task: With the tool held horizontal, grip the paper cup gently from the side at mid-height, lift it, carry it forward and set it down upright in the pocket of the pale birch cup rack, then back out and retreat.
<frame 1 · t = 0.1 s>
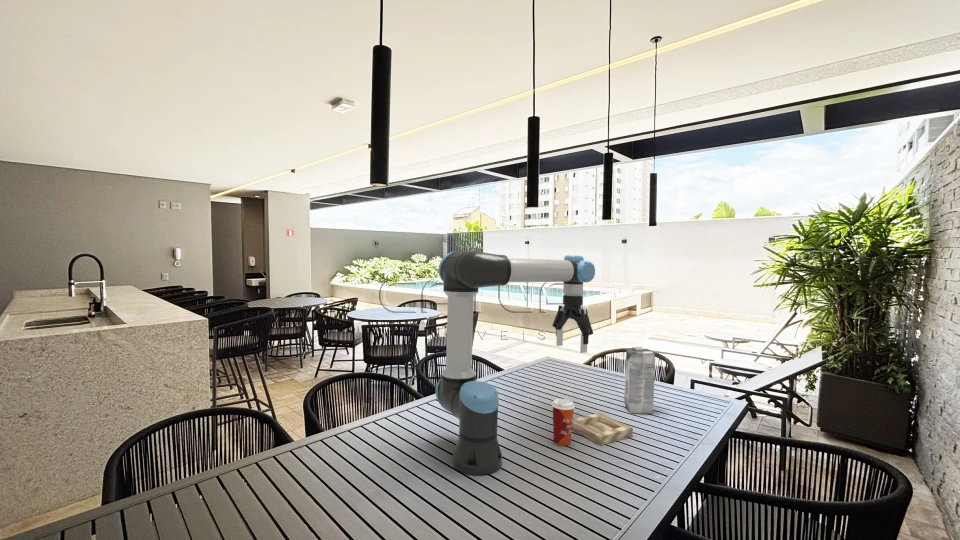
hand: (571, 349, 160), 28 cm above the table, tool pointing down, fingers open, 13 cm apart
juice carton: (638, 411, 172), on the table
paper cup: (562, 442, 141), on the table
cup rack: (599, 432, 150), on the table
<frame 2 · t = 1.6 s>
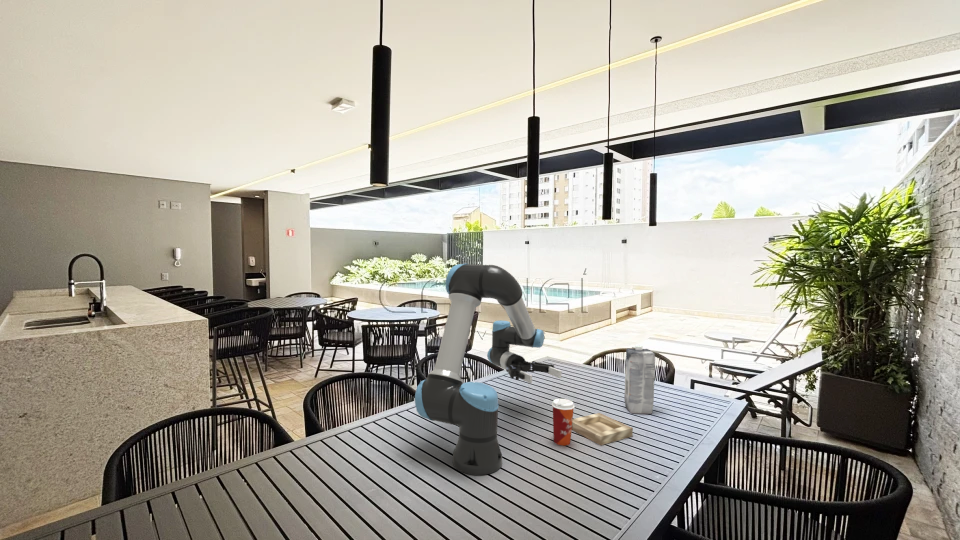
hand: (546, 376, 149), 20 cm above the table, tool horizontal, fingers open, 13 cm apart
nothing on the table moved.
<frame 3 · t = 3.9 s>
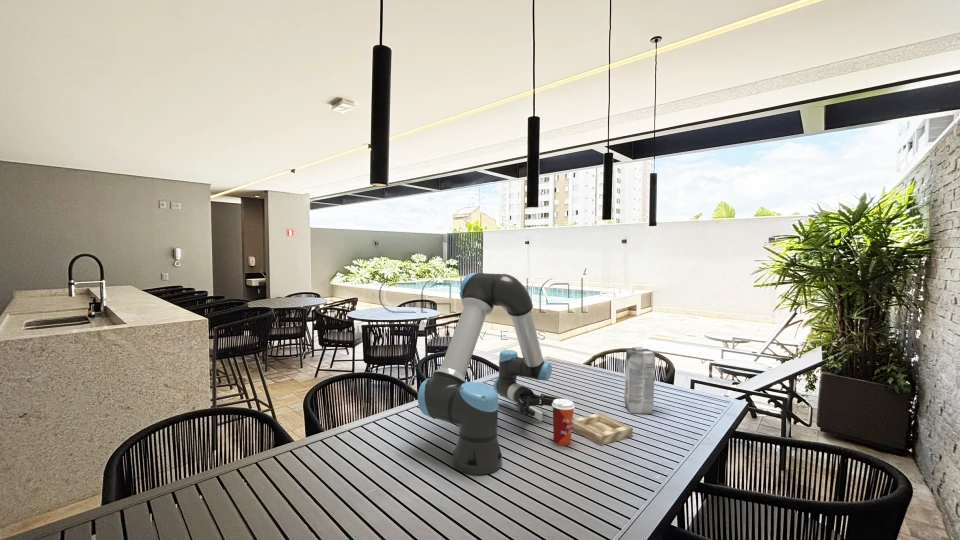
hand: (556, 413, 145), 8 cm above the table, tool horizontal, fingers open, 13 cm apart
nothing on the table moved.
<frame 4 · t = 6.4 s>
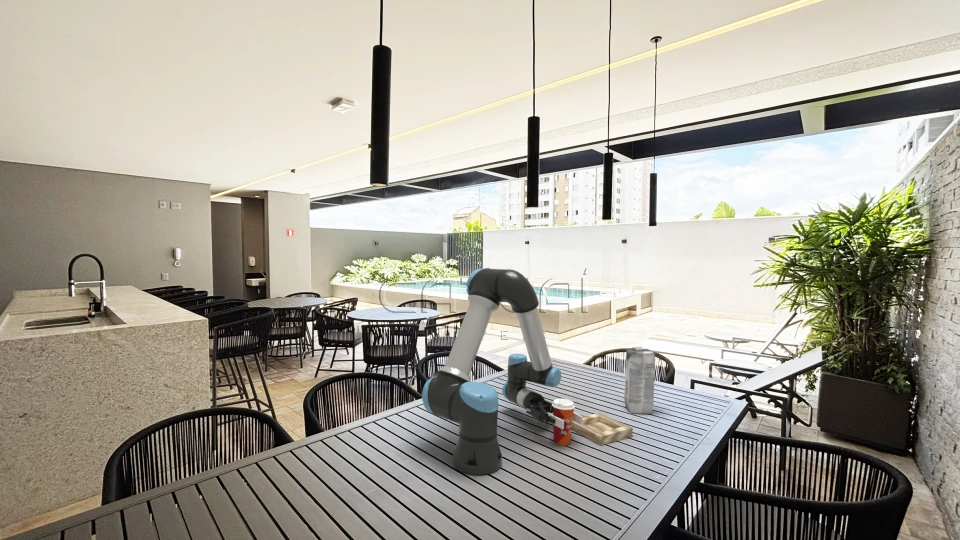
hand: (572, 422, 137), 9 cm above the table, tool horizontal, fingers closed on paper cup, 8 cm apart
paper cup: (562, 442, 141), on the table, touching gripper
everything else where it was.
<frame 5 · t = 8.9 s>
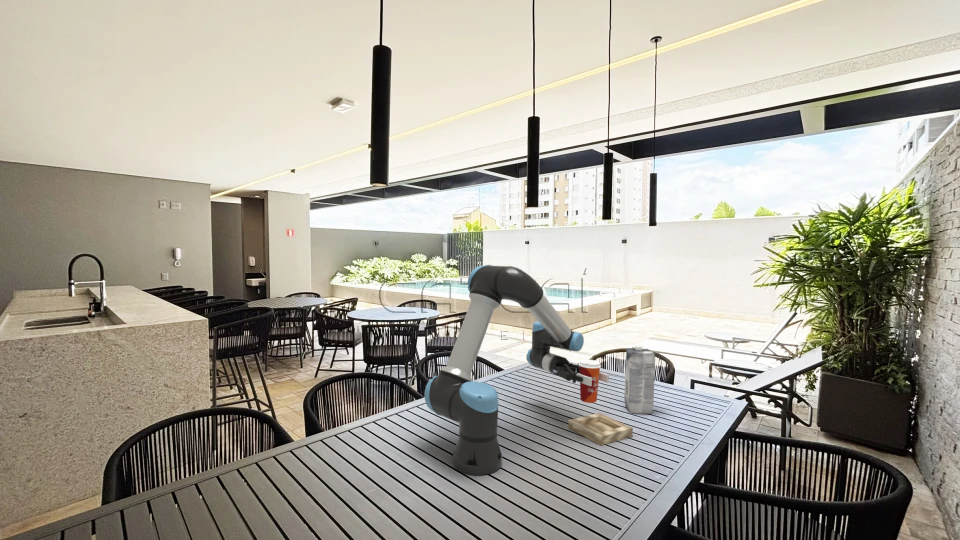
hand: (599, 380, 143), 21 cm above the table, tool horizontal, fingers closed on paper cup, 8 cm apart
paper cup: (588, 400, 148), point 12 cm above the table, touching gripper
everything else where it was.
when the fingers open (10 cm above the table, at t = 11.9 s): paper cup drops 1 cm, resting on cup rack.
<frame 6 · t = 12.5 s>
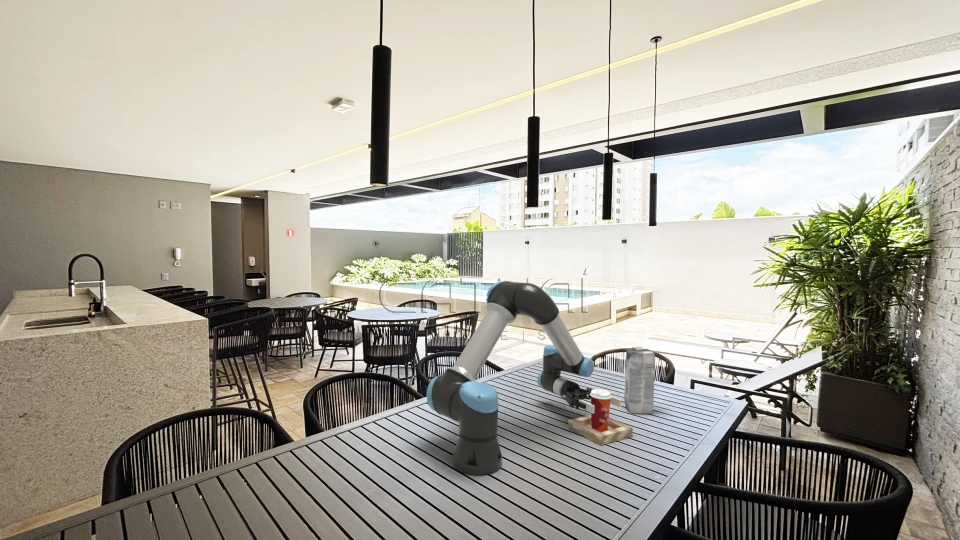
hand: (607, 406, 147), 10 cm above the table, tool horizontal, fingers open, 13 cm apart
paper cup: (599, 430, 150), point 1 cm above the table, touching cup rack
everything else where it was.
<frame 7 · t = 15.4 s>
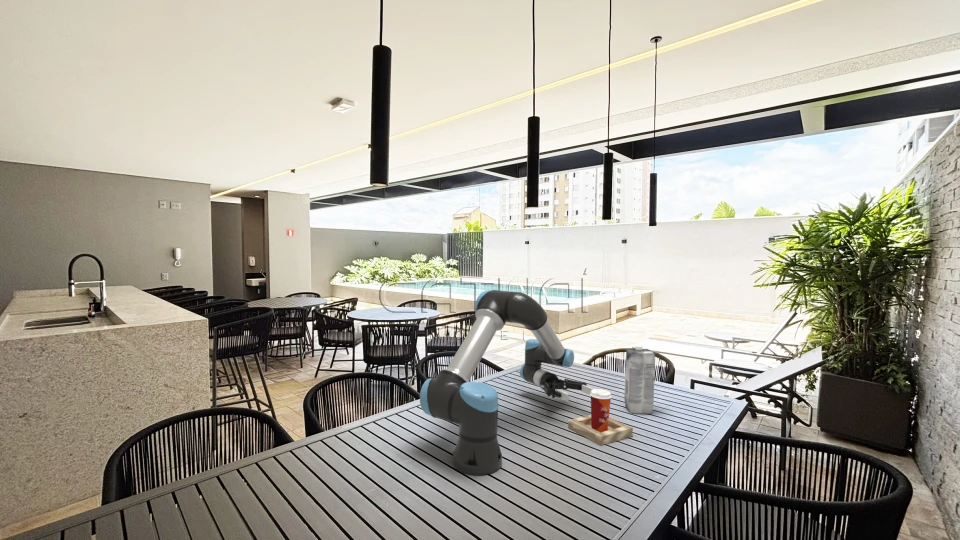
hand: (581, 395, 158), 11 cm above the table, tool horizontal, fingers open, 13 cm apart
nothing on the table moved.
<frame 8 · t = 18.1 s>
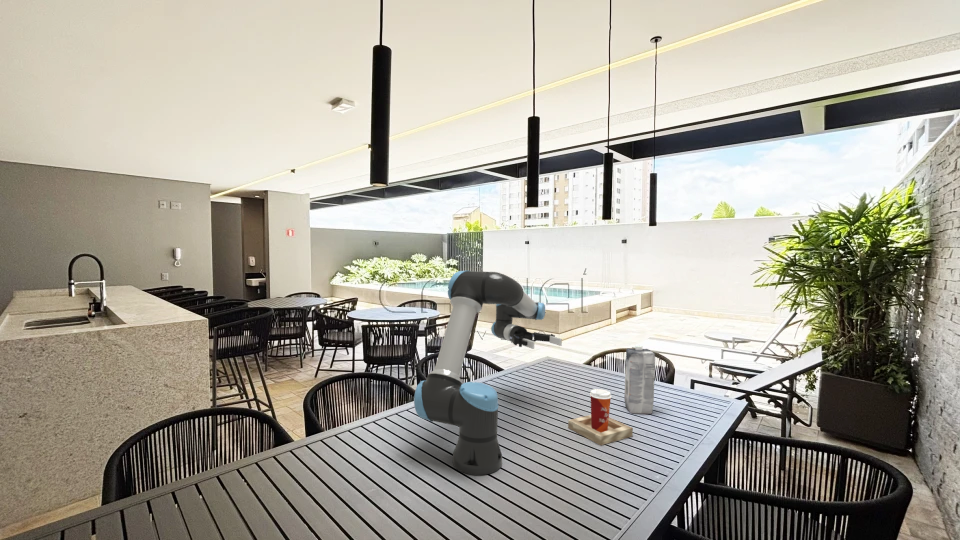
hand: (547, 343, 159), 30 cm above the table, tool horizontal, fingers open, 13 cm apart
nothing on the table moved.
at the end: paper cup 0.2 cm off-centre on the cup rack, point 0.6 cm above the cup rack's base; paper cup touching cup rack; paper cup tilted 0° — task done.
